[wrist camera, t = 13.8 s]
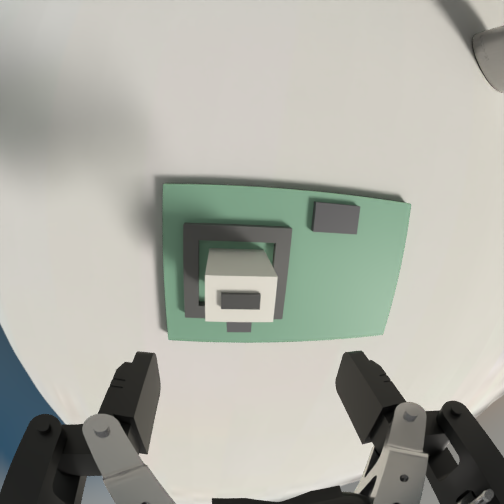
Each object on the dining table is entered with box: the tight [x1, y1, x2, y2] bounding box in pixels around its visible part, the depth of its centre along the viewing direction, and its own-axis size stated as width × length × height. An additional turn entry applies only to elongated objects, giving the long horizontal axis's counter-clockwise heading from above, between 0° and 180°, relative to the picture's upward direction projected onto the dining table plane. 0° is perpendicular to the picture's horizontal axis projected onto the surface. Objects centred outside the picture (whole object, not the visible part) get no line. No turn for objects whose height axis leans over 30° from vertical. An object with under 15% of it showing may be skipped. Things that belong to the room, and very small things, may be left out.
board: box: [163, 183, 411, 343], centre depth 24 cm, size 22×14×2 cm, turn 86°
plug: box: [205, 248, 278, 332], centre depth 20 cm, size 4×4×6 cm
